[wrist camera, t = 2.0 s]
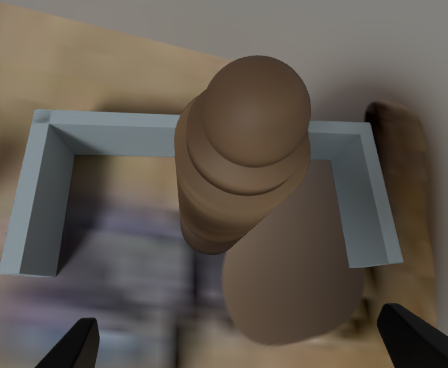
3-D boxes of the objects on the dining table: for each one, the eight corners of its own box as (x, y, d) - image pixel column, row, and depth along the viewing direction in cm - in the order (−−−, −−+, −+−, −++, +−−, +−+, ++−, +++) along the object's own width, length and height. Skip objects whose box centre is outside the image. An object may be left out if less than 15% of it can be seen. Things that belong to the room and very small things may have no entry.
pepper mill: (253, 229, 22) (401, 100, 7) (206, 268, 20) (261, 213, 5) (216, 183, 23) (275, -19, 8) (168, 218, 21) (126, 52, 6)
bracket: (361, 267, 22) (403, 262, 18) (39, 277, 19) (-2, 274, 15) (339, 150, 25) (369, 122, 21) (63, 142, 22) (34, 109, 18)
